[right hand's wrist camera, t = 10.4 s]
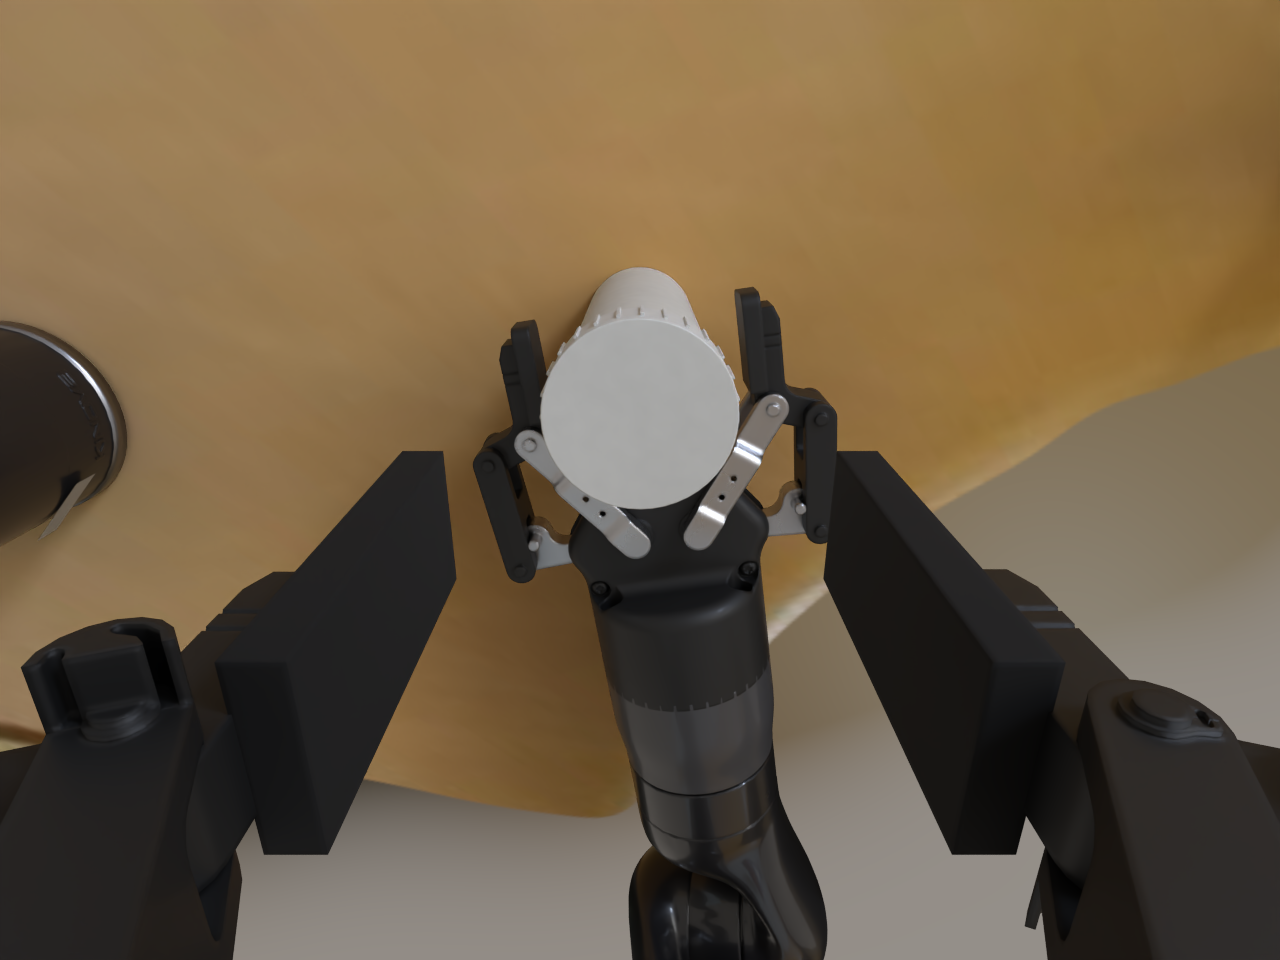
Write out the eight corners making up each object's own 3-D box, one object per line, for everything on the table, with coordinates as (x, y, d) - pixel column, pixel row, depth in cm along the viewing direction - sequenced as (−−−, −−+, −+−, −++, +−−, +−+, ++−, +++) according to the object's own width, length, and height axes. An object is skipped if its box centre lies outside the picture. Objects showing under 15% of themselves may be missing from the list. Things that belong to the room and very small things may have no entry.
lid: (568, 281, 21) (561, 290, 19) (758, 332, 21) (769, 345, 19) (528, 463, 23) (519, 486, 21) (703, 505, 23) (708, 531, 21)
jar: (601, 254, 33) (573, 305, 19) (704, 282, 34) (750, 352, 20) (577, 357, 35) (535, 472, 21) (676, 382, 36) (699, 511, 22)
